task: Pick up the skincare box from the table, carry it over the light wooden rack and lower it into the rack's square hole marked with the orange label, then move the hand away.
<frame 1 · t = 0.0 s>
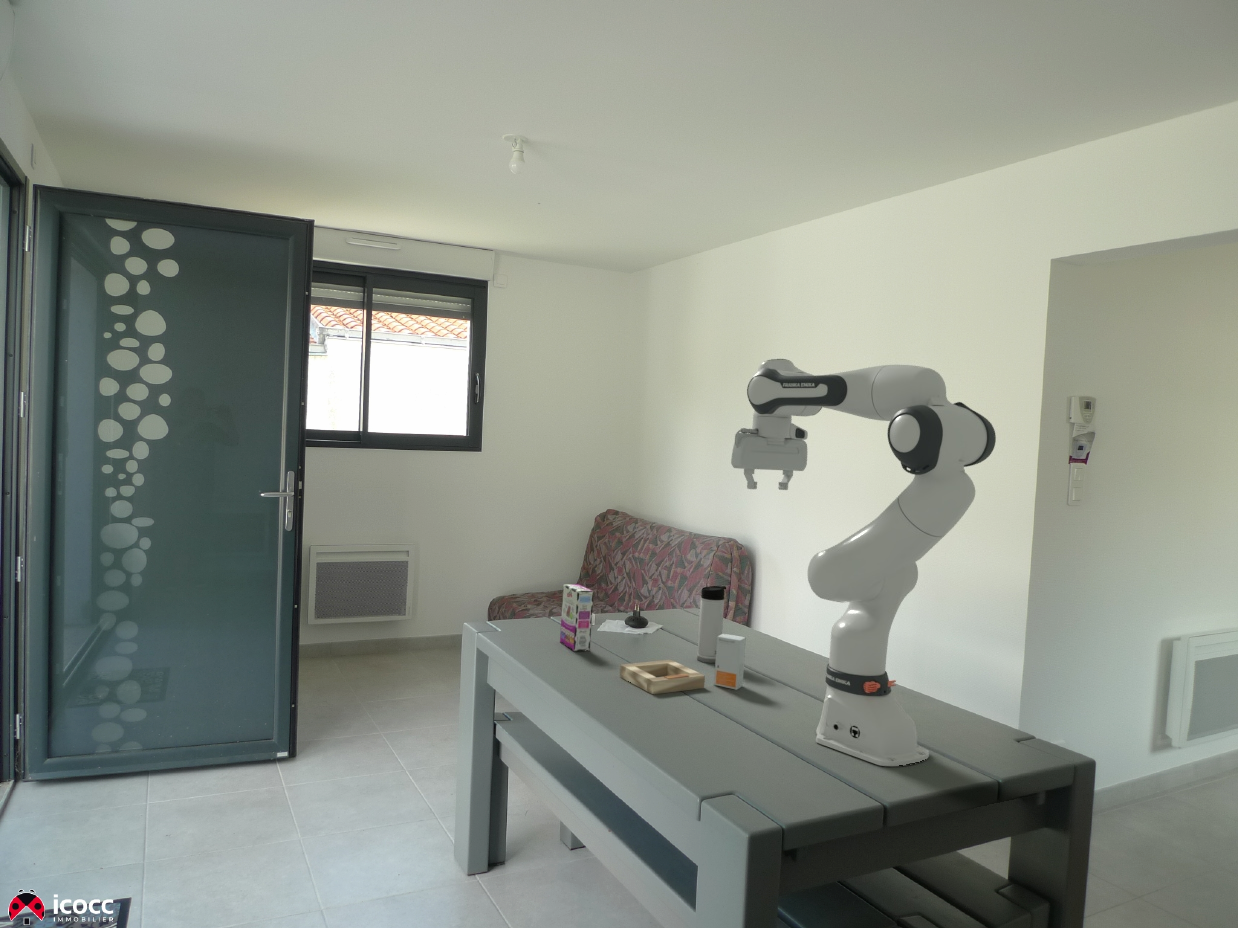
hand: (767, 489, 198), 48 cm above the table, tool pointing down, fingers open, 8 cm apart
travel mug: (709, 660, 228), on the table
candy bar box: (574, 647, 235), on the table
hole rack: (661, 682, 205), on the table
skincare box: (728, 686, 205), on the table
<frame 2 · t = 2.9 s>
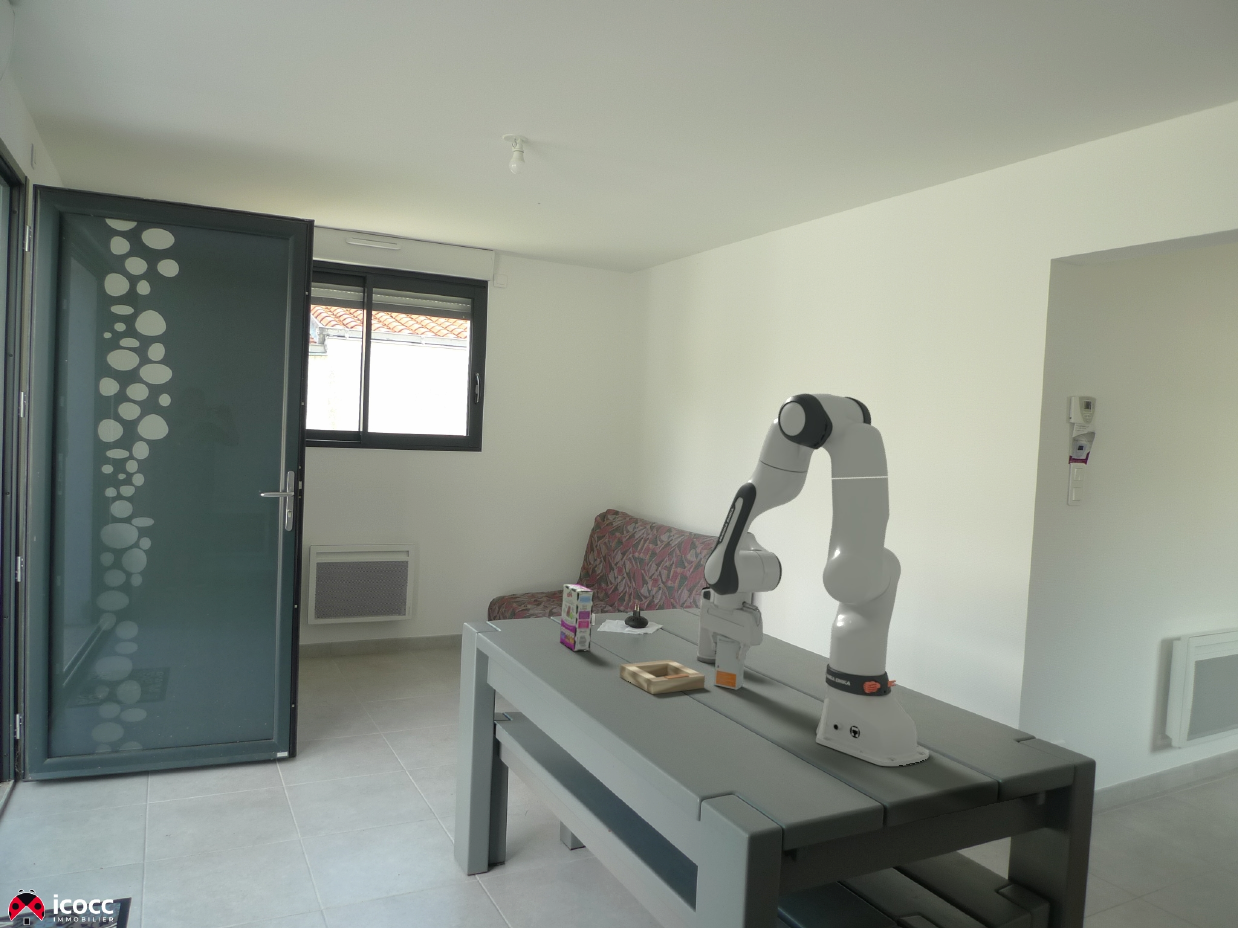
hand: (728, 654, 205), 7 cm above the table, tool pointing down, fingers open, 8 cm apart
nothing on the table moved.
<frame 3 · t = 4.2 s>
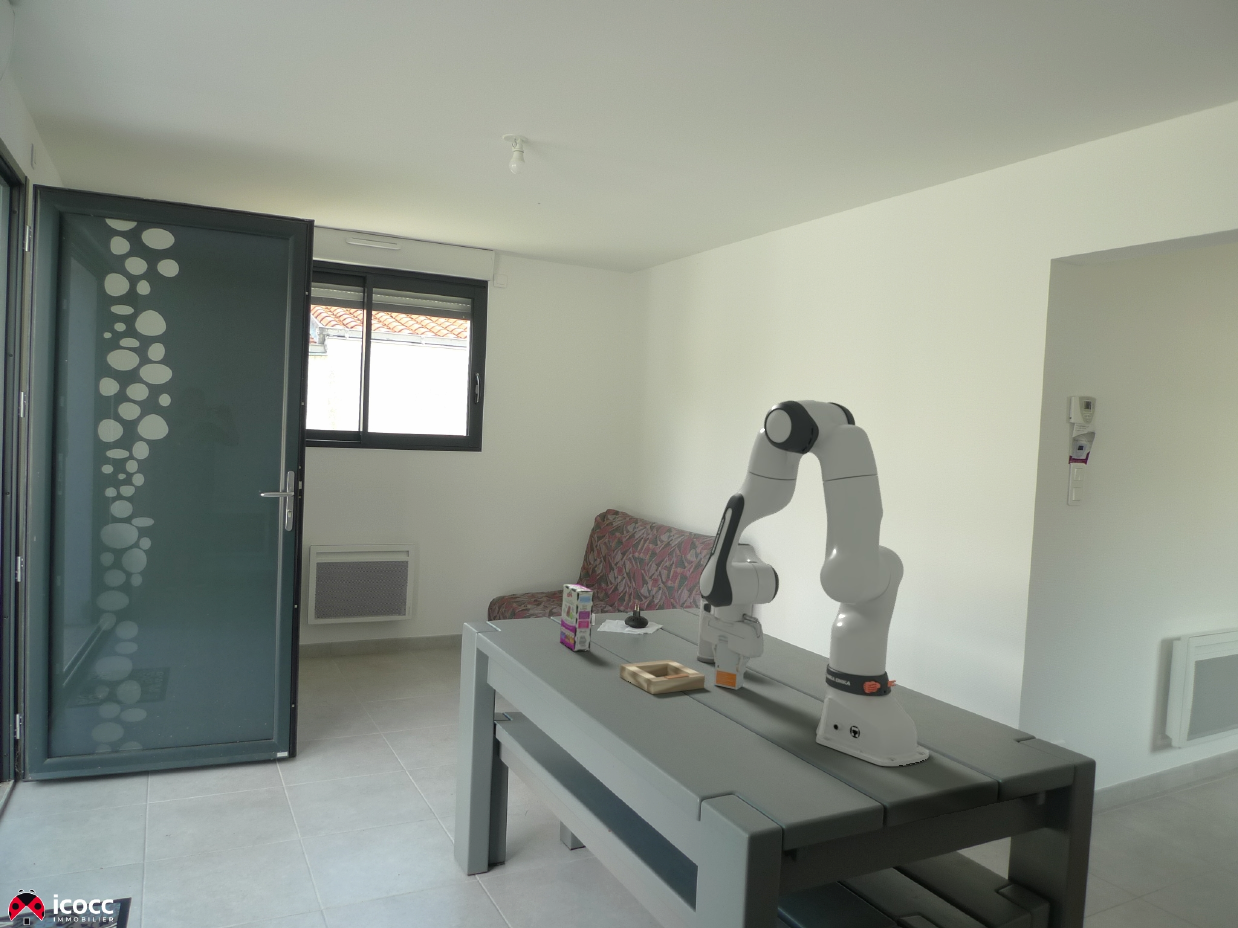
hand: (729, 667, 205), 5 cm above the table, tool pointing down, fingers closed on skincare box, 7 cm apart
skincare box: (728, 686, 205), on the table, touching gripper
everything else where it was.
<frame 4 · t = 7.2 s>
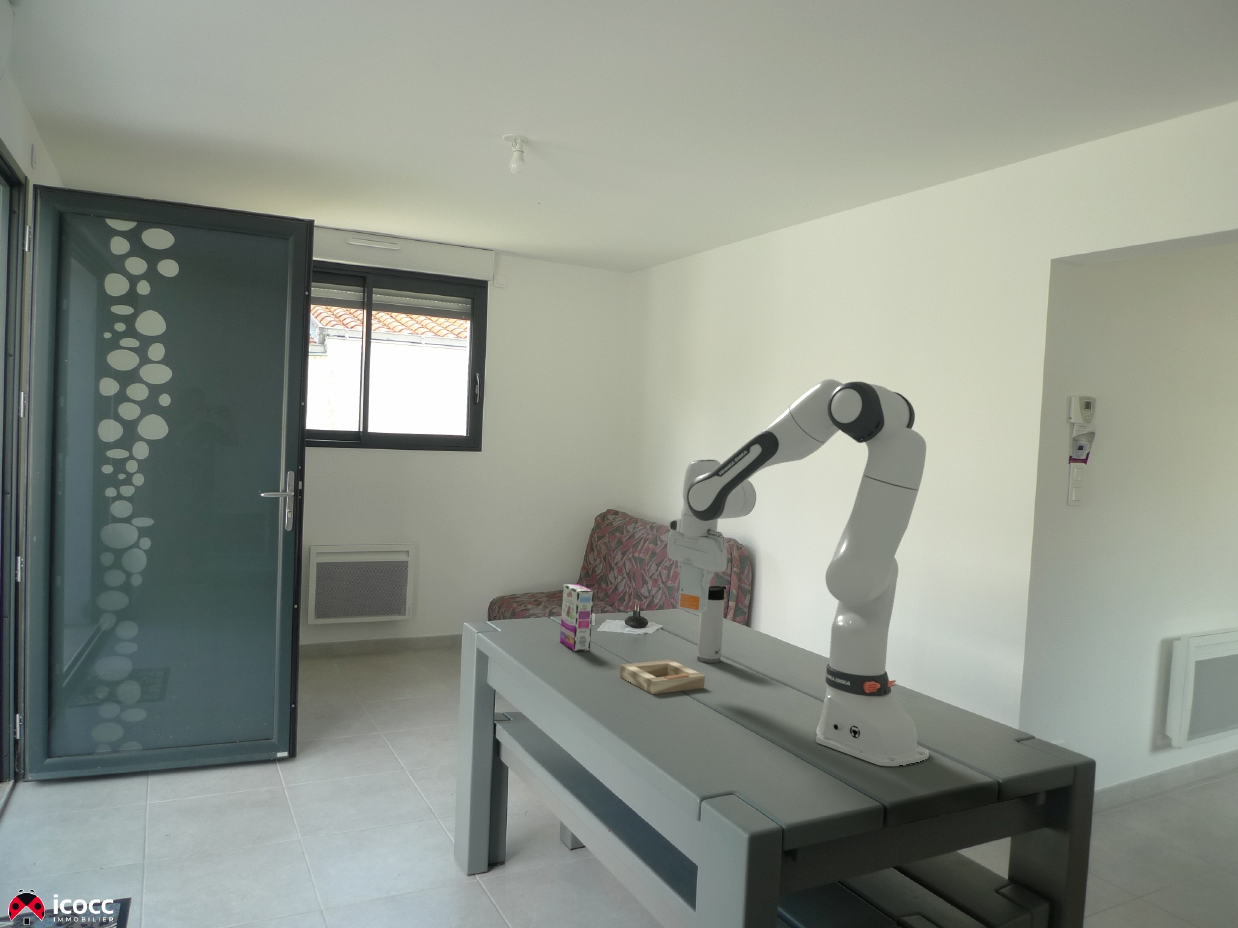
hand: (694, 584, 205), 24 cm above the table, tool pointing down, fingers closed on skincare box, 7 cm apart
skincare box: (692, 610, 205), point 18 cm above the table, touching gripper
everything else where it was.
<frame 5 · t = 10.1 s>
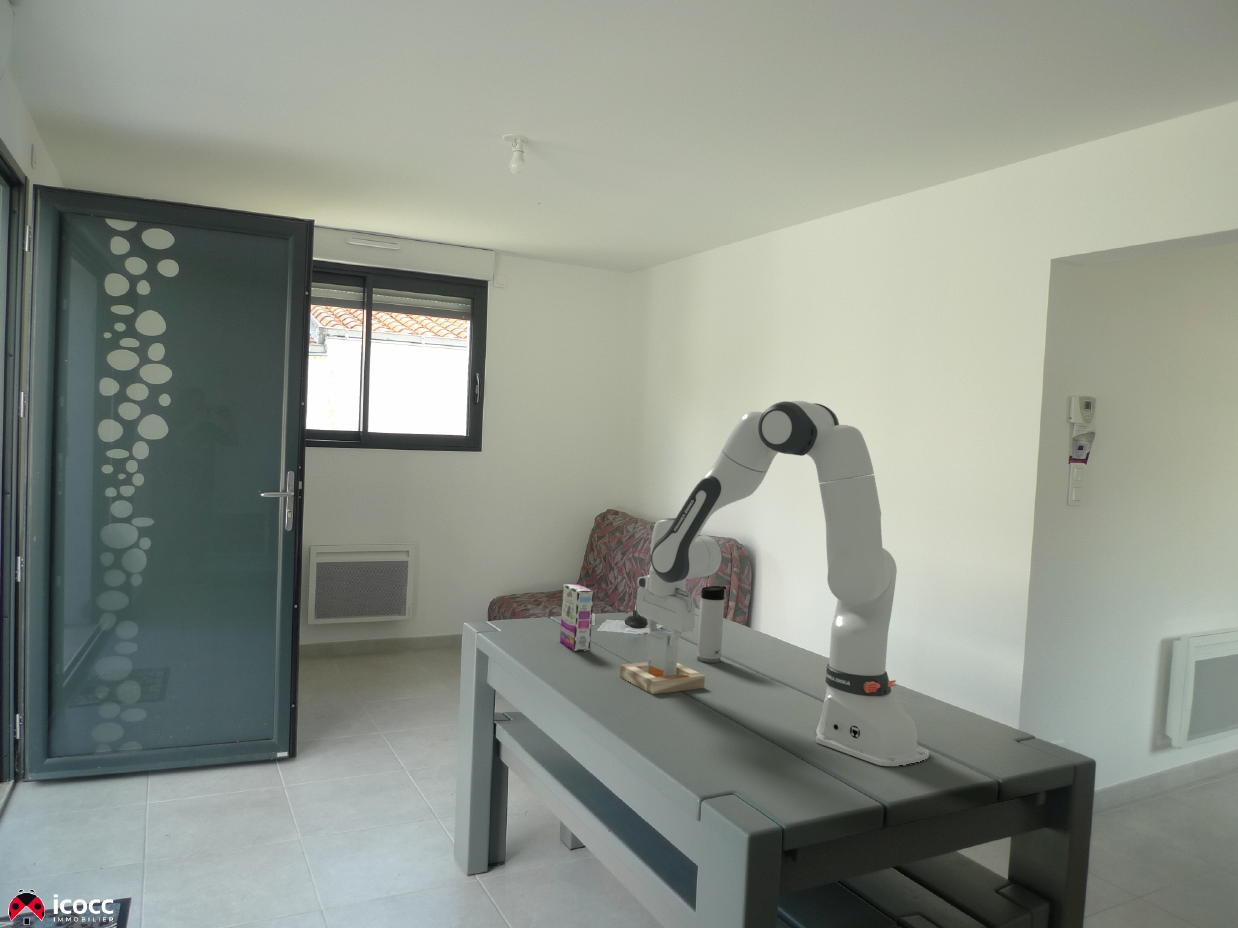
hand: (663, 641, 205), 10 cm above the table, tool pointing down, fingers open, 7 cm apart
skincare box: (661, 683, 205), resting in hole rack, touching gripper
everything else where it was.
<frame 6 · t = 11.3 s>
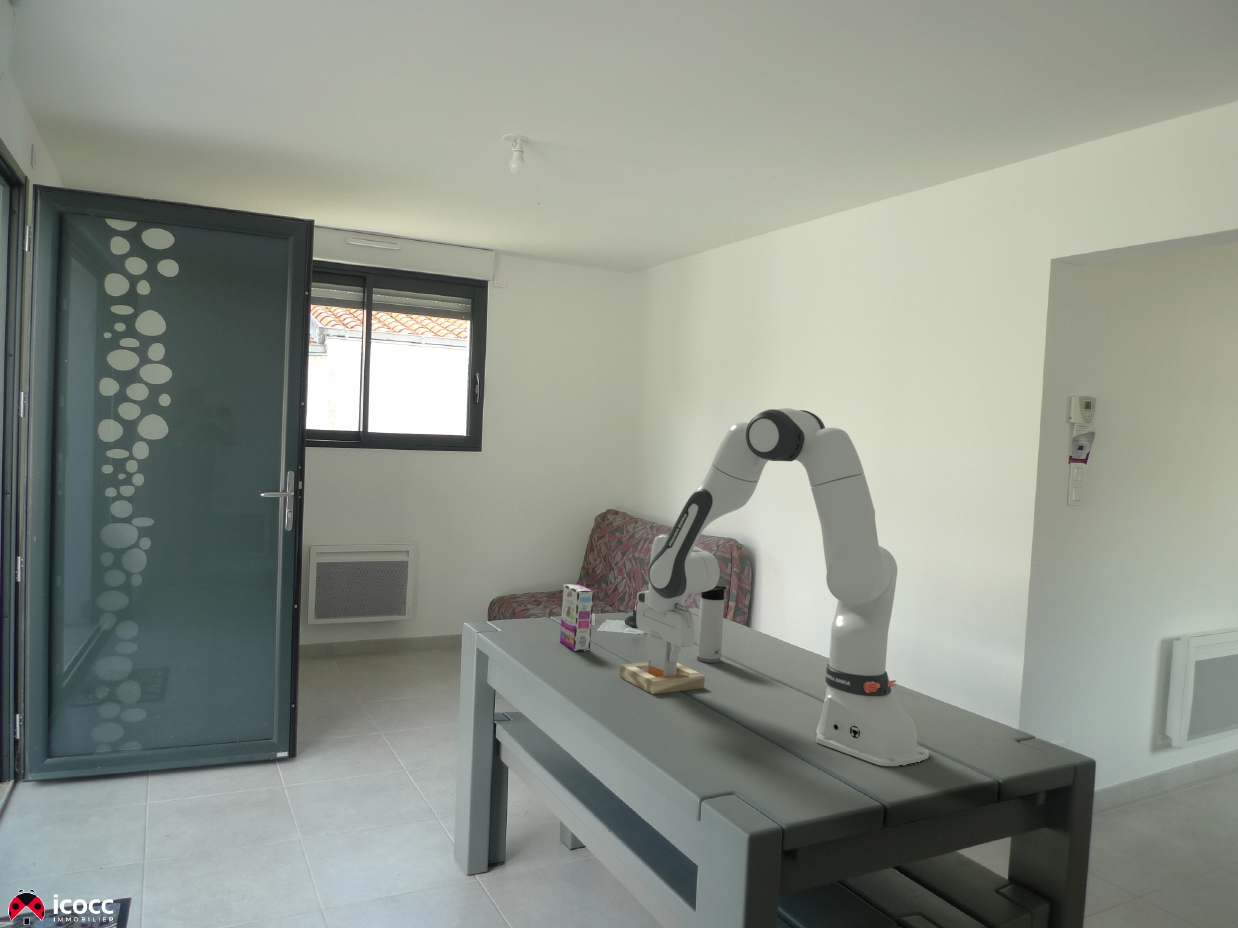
hand: (663, 657, 205), 6 cm above the table, tool pointing down, fingers open, 7 cm apart
nothing on the table moved.
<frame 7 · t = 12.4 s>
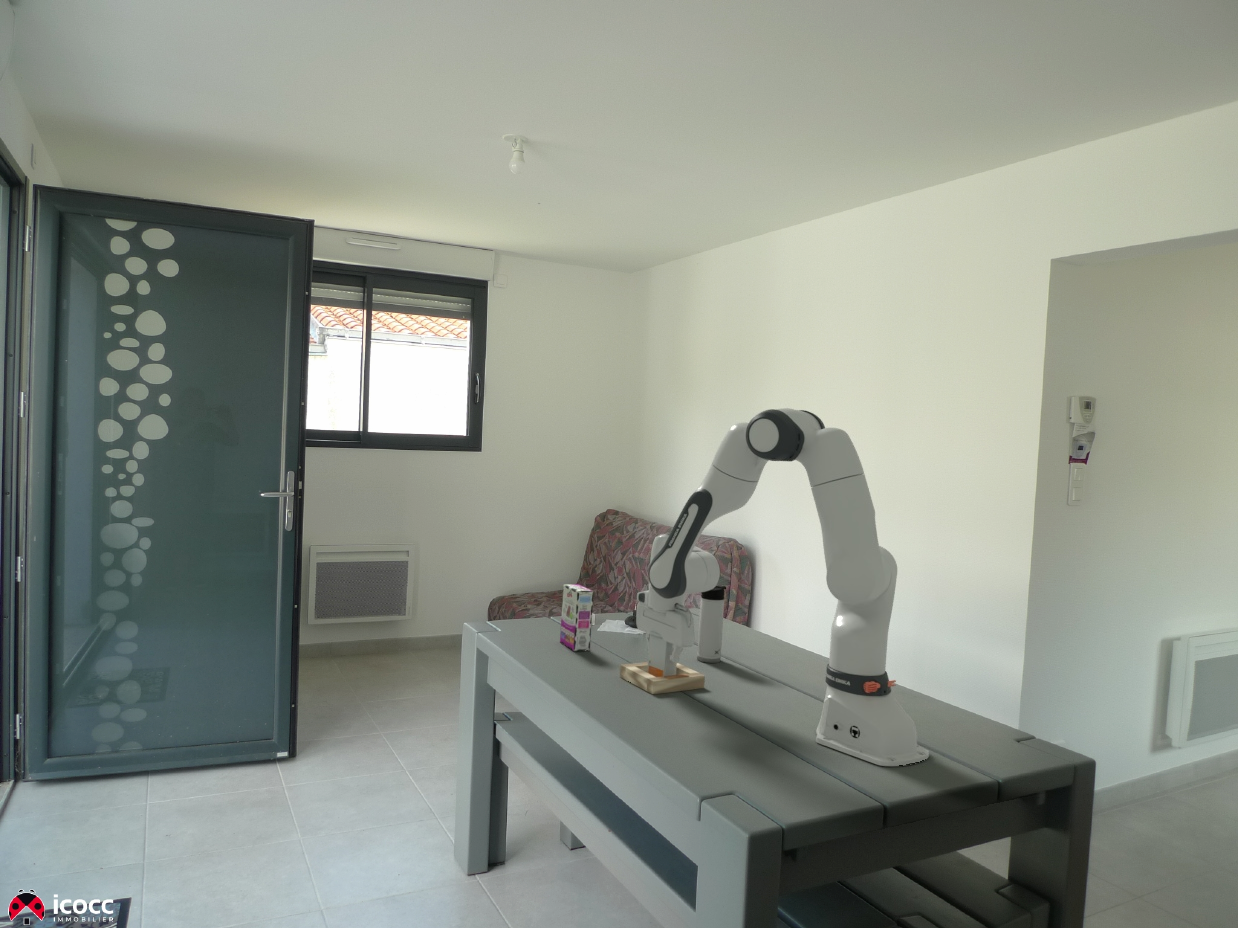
hand: (662, 656, 205), 6 cm above the table, tool pointing down, fingers open, 8 cm apart
skincare box: (661, 683, 205), resting in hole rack
everything else where it was.
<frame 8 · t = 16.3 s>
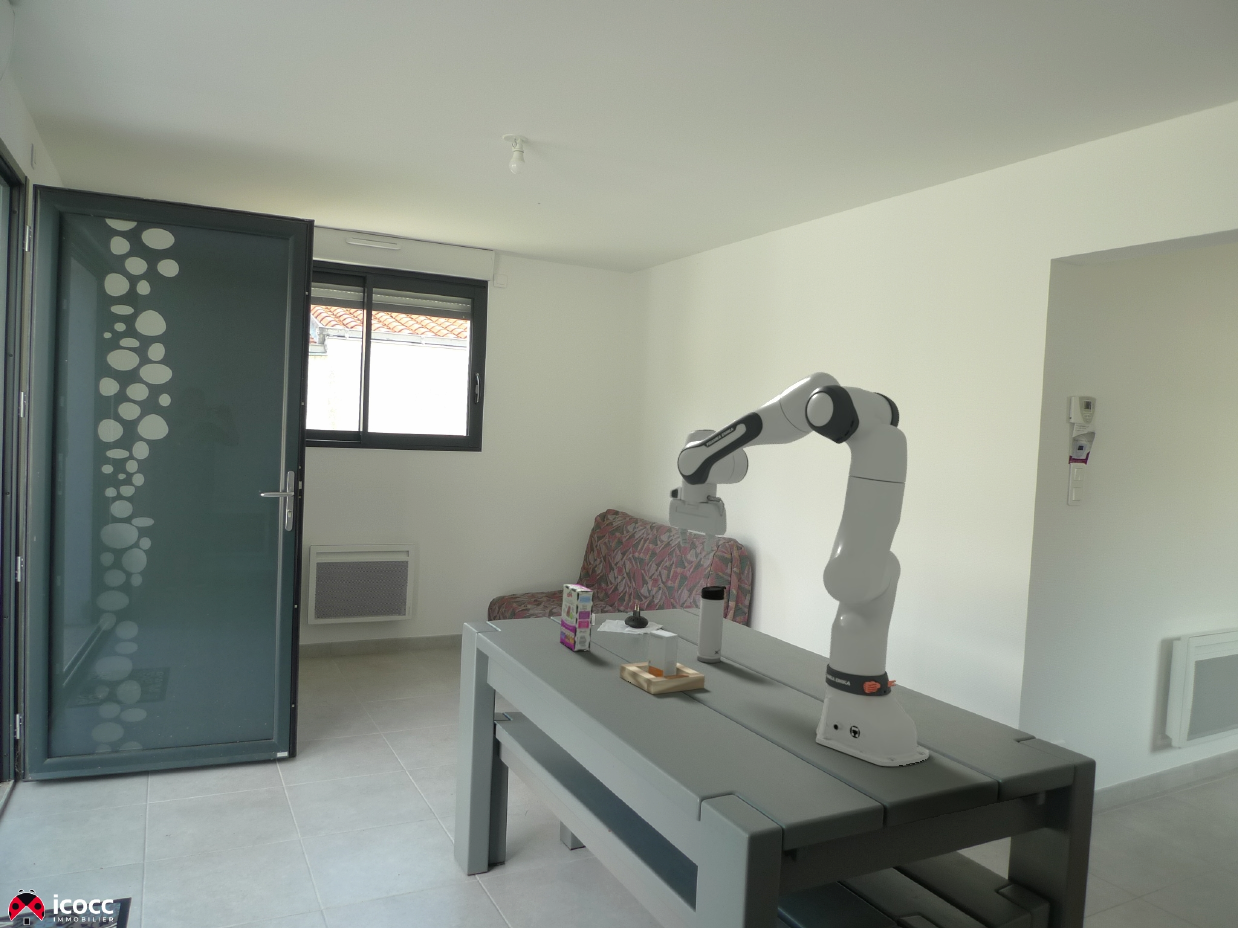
hand: (695, 548, 215), 31 cm above the table, tool pointing down, fingers open, 8 cm apart
nothing on the table moved.
at the end: skincare box 0.1 cm off-centre on the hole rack, point 0.0 cm above the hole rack's base; skincare box tilted 0°; the gripper is holding nothing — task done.
